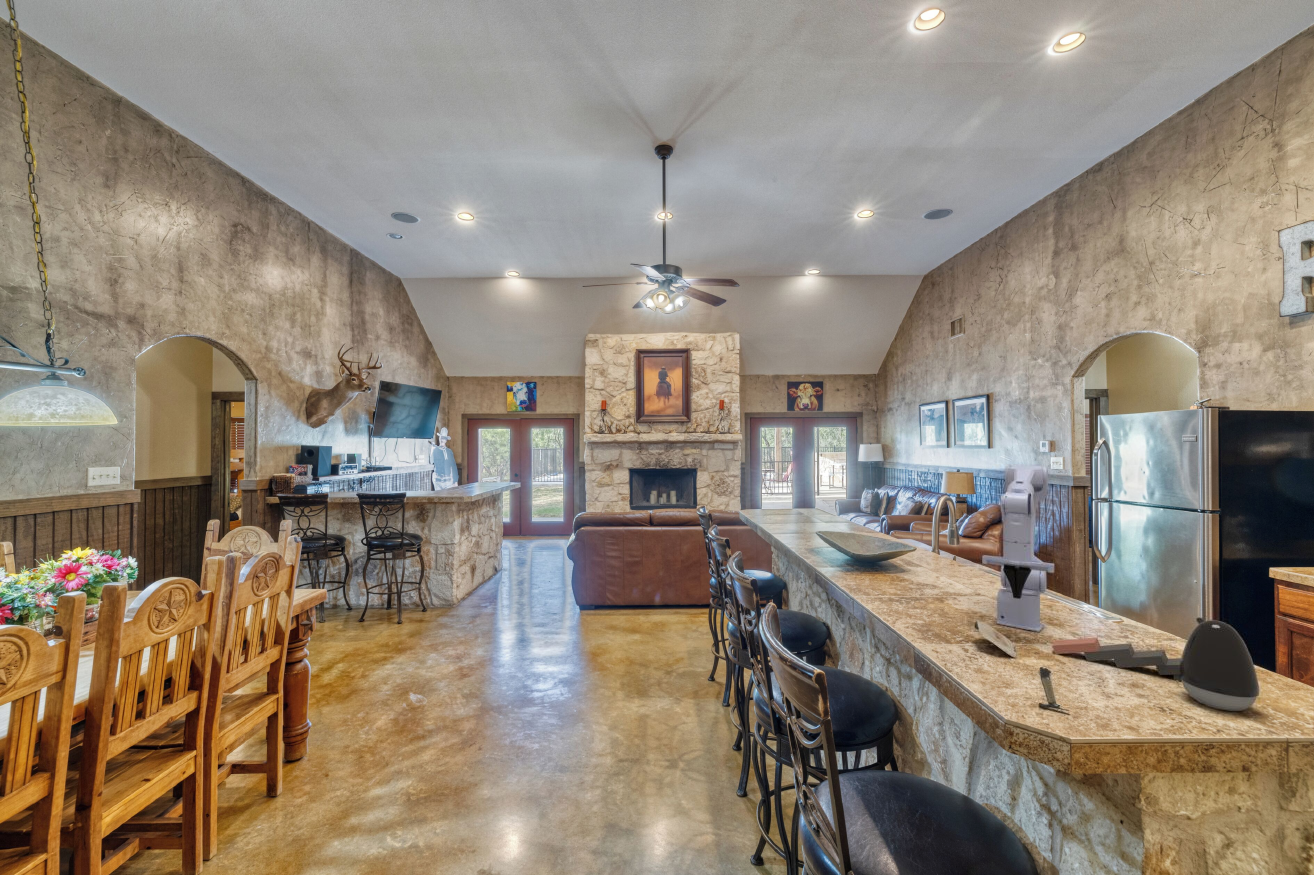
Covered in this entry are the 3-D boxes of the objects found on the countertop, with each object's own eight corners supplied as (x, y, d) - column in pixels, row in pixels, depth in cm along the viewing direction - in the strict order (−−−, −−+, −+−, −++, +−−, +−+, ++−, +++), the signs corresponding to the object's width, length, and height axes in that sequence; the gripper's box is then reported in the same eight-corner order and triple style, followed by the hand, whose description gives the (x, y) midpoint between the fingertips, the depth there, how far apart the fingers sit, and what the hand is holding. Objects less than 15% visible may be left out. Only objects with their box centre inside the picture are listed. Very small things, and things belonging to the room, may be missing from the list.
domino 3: (1155, 665, 111) (1208, 663, 106) (1156, 658, 114) (1207, 657, 109) (1159, 674, 110) (1212, 673, 105) (1160, 667, 114) (1211, 666, 109)
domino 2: (1113, 658, 115) (1161, 655, 110) (1117, 653, 119) (1163, 649, 113) (1117, 667, 115) (1165, 665, 109) (1121, 661, 118) (1168, 658, 113)
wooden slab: (1024, 670, 124) (980, 631, 134) (1033, 658, 123) (989, 620, 133) (997, 667, 119) (954, 627, 129) (1006, 655, 118) (962, 615, 128)
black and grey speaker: (1234, 696, 102) (1232, 615, 102) (1275, 722, 92) (1274, 632, 92) (1166, 688, 105) (1165, 609, 105) (1199, 712, 95) (1198, 625, 96)
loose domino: (1058, 648, 126) (1100, 645, 121) (1055, 653, 122) (1097, 651, 117) (1055, 640, 126) (1097, 637, 121) (1052, 645, 123) (1094, 642, 118)
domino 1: (1083, 652, 119) (1128, 648, 114) (1087, 647, 123) (1130, 643, 117) (1087, 660, 119) (1132, 657, 113) (1090, 655, 122) (1134, 651, 117)
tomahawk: (1086, 725, 92) (1086, 719, 92) (1038, 711, 96) (1039, 705, 96) (1075, 680, 109) (1076, 675, 109) (1035, 670, 113) (1036, 665, 113)
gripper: (979, 539, 134) (979, 594, 133) (1051, 547, 124) (1051, 606, 123) (986, 536, 139) (985, 590, 138) (1055, 544, 129) (1055, 601, 129)
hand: (1017, 597), depth 131 cm, fingers closed
